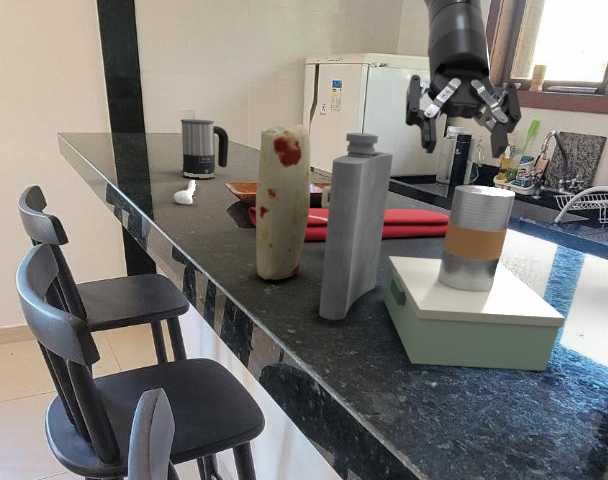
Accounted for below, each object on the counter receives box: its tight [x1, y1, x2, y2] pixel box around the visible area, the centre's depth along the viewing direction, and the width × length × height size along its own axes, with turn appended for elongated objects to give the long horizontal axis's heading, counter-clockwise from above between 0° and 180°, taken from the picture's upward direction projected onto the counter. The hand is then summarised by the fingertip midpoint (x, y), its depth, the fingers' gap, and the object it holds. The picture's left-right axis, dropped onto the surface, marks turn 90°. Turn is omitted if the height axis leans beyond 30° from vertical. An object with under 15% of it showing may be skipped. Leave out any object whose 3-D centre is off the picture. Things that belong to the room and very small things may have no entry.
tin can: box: [438, 184, 516, 292], centre depth 57 cm, size 6×6×10 cm
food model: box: [255, 123, 312, 281], centre depth 72 cm, size 10×7×20 cm
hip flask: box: [318, 132, 394, 321], centre depth 65 cm, size 16×4×20 cm, turn 157°
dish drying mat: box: [247, 206, 450, 242], centre depth 104 cm, size 16×41×4 cm, turn 113°
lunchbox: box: [383, 255, 566, 372], centre depth 61 cm, size 16×18×6 cm
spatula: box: [173, 179, 197, 206], centre depth 126 cm, size 28×4×3 cm, turn 8°
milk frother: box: [180, 118, 229, 180], centre depth 151 cm, size 14×16×15 cm
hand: (465, 151), depth 66 cm, fingers open, 8 cm apart
